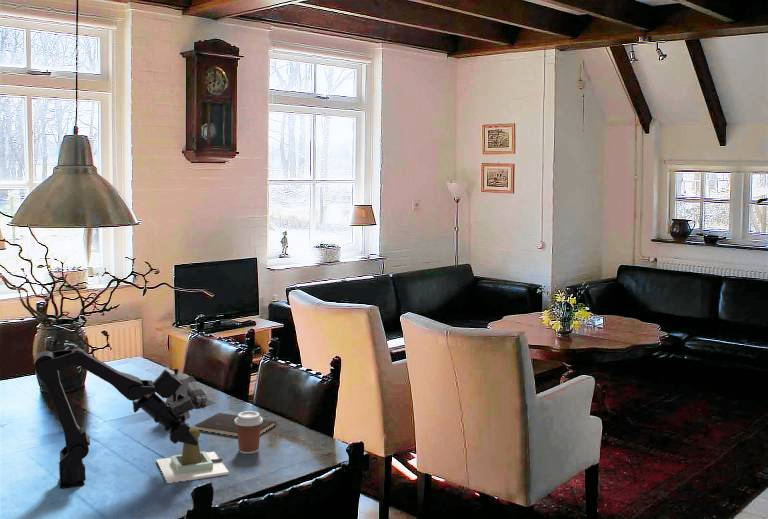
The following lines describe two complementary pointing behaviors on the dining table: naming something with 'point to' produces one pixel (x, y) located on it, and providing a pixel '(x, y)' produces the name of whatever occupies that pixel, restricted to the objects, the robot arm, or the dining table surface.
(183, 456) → the cork
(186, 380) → the coffeepot
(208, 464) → the dock plate
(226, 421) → the hardcover book
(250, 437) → the coffee cup
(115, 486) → the dining table surface
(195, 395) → the gun
